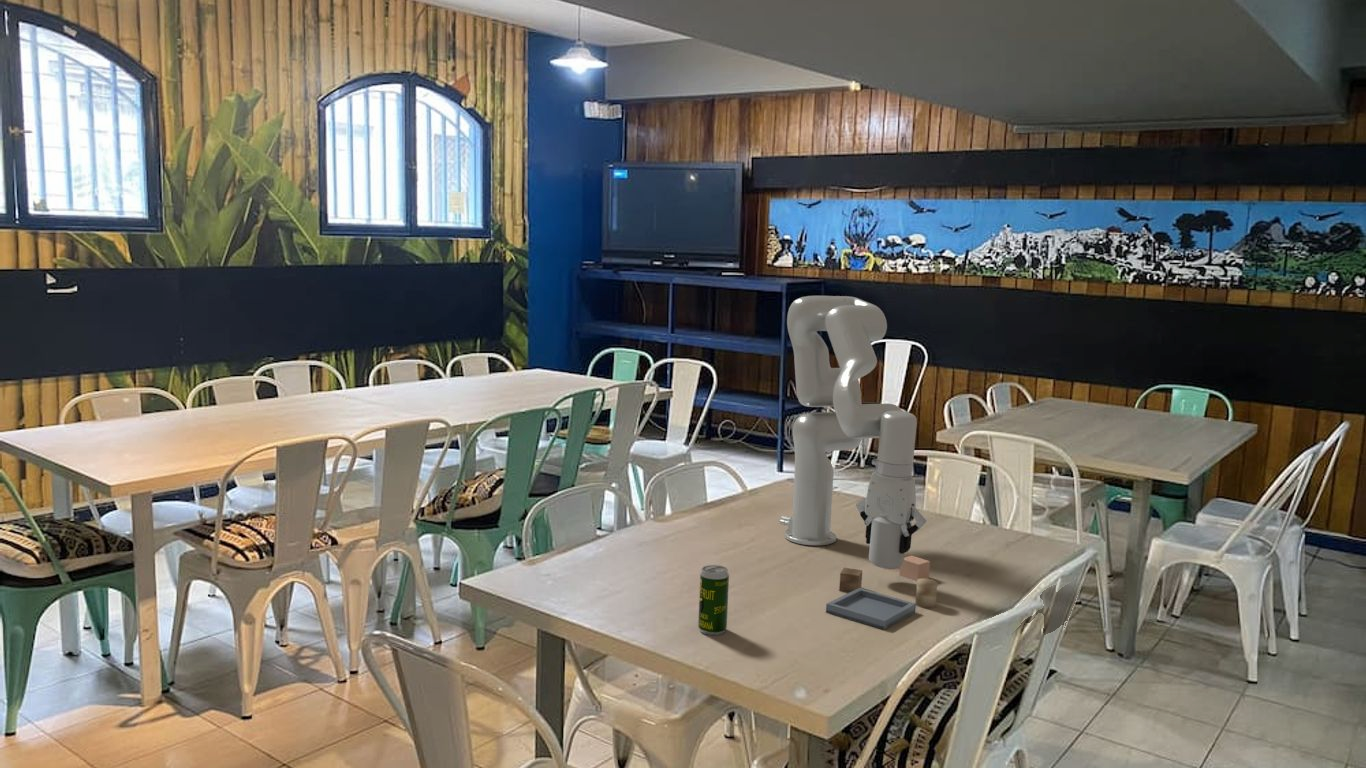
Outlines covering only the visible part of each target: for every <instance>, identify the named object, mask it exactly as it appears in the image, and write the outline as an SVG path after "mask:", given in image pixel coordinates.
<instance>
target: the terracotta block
mask: <svg viewBox="0 0 1366 768" xmlns="http://www.w3.org/2000/svg"><path fill="white" fill-rule="evenodd" d="M930 564H931V562H930V560H927V559H924V558H921V557H918V556H915V555H908V556H904V562H903V564H902V565H900V566H899V573H898V574H899V576H900V577H903V578H906V579H908V580H911V579H912V581H914V580H915V582H917V580H918V579H921V578H927V579H930V576H929V575H930Z"/></svg>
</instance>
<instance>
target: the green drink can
mask: <svg viewBox="0 0 1366 768" xmlns="http://www.w3.org/2000/svg"><path fill="white" fill-rule="evenodd" d="M699 576H700V578H699V595H698V596H699V598H698V622H697V623H698V624H697V625H698V627H697V628H698V629H699V632H700V633H701V634H705V635H706V636H707V635H708V636H720V635H722V634H725V632H726V630H727V628H728V627H727V626H728V608H729V607H728V605H729V587H730V586H729V585H730V584H729V581H730V575H729V569H728V568H727V567H726V566H722V565H716V564H711V565H710V564H708V565H706V566H702V567H701V571H700V575H699Z"/></svg>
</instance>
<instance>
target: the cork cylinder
mask: <svg viewBox="0 0 1366 768" xmlns="http://www.w3.org/2000/svg"><path fill="white" fill-rule="evenodd" d="M937 588H938V582H937V581H936V580H935V579H932V578H928V579H927V578H921V579H918V580H917V581H916V593H915V604H916V606H917V607H919V608H923V609H934V608H936V602H937V592H938V591H937Z"/></svg>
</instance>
